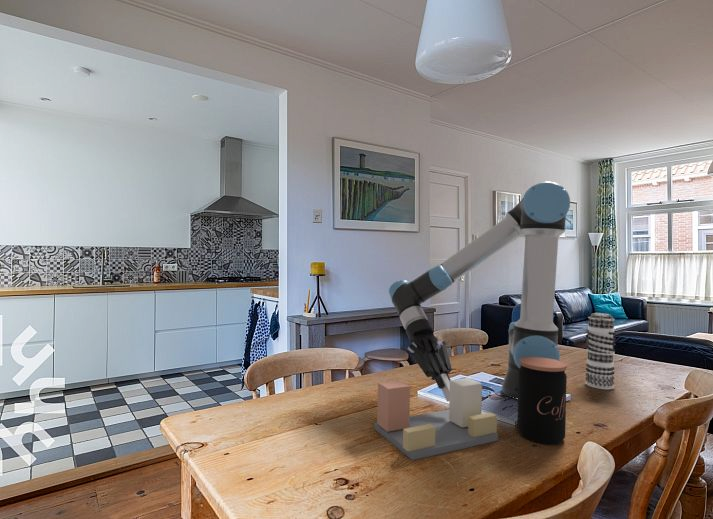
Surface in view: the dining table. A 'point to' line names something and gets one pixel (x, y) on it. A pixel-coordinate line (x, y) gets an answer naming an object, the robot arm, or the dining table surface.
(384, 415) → the terracotta key
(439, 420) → the board
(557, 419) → the coffee jar
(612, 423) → the dining table surface
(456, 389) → the cream key
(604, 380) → the white patterned cylinder
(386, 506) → the dining table surface
